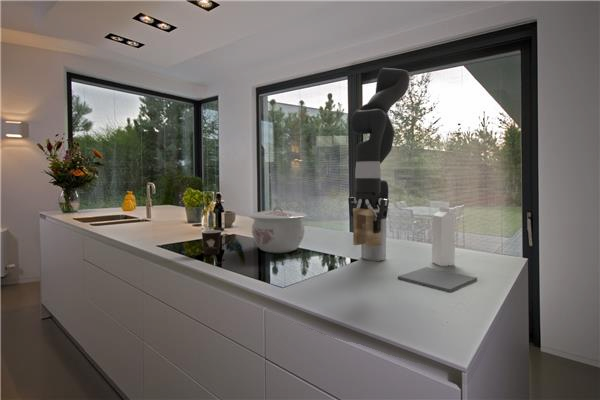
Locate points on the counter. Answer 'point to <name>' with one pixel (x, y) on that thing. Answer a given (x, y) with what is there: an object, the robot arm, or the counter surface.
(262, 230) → the chamber pot
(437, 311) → the counter surface
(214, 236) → the coffee mug
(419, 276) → the mat
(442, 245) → the milk
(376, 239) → the tan notched block
